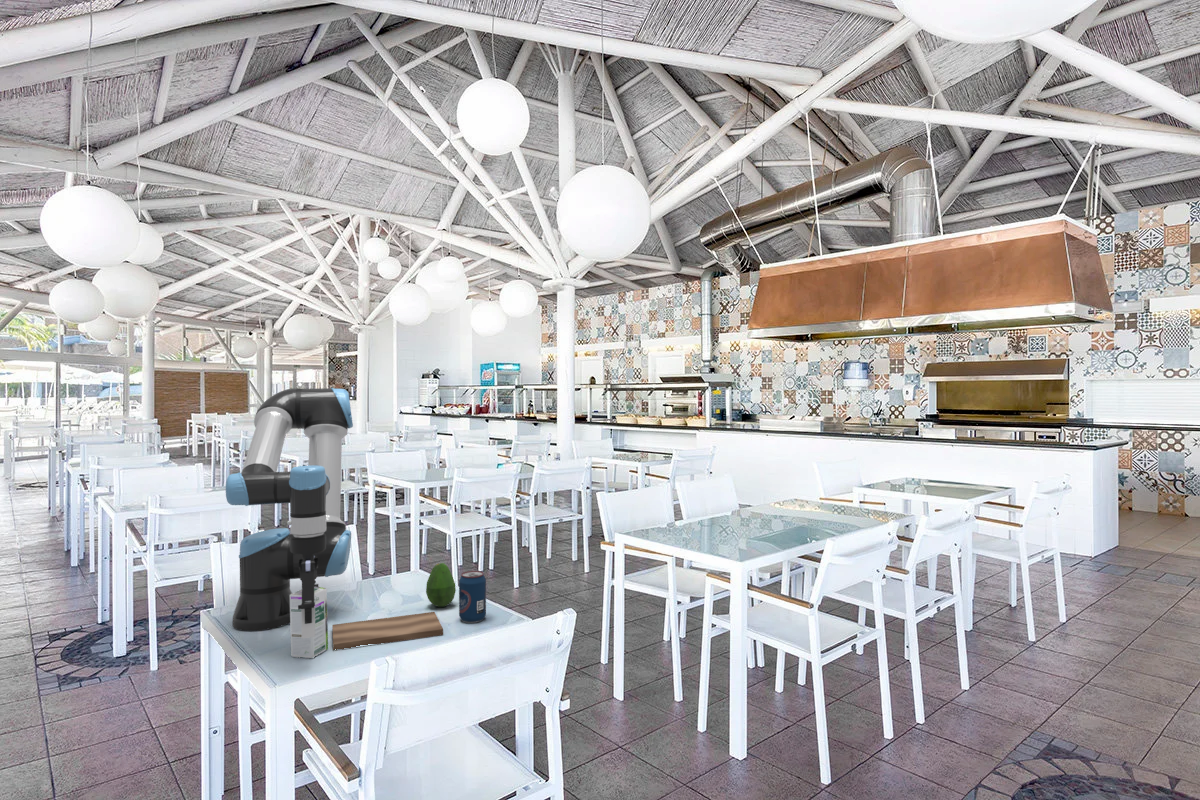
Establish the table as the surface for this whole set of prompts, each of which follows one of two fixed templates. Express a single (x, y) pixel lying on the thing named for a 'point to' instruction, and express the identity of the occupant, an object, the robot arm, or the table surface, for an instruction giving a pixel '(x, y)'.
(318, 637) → the syrup box
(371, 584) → the table surface
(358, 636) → the walnut board
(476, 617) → the soda can
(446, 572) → the avocado
